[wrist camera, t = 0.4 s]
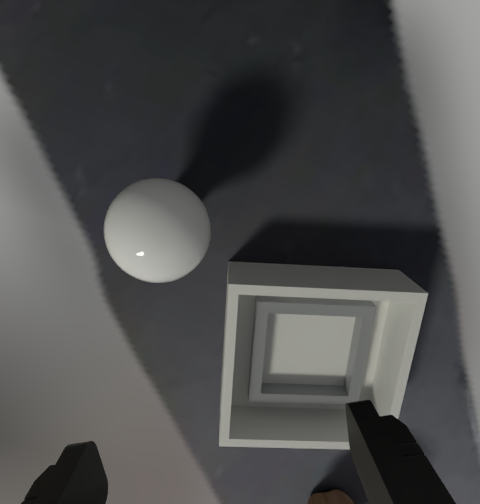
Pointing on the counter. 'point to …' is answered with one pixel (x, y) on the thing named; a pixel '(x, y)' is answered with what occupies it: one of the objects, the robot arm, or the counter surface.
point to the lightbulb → (157, 230)
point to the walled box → (313, 350)
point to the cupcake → (330, 498)
